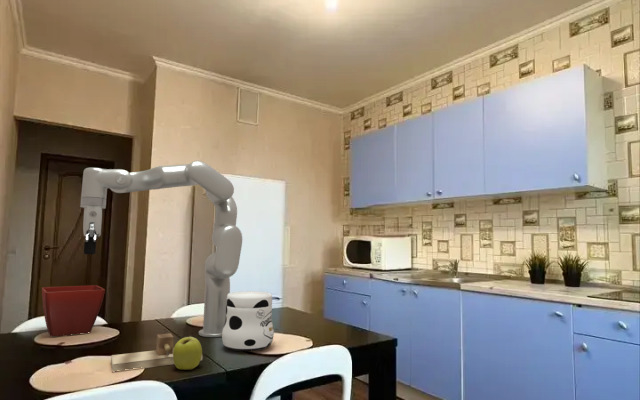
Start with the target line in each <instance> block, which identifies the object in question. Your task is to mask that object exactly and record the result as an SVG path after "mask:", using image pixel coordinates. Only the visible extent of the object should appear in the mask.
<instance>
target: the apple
mask: <svg viewBox="0 0 640 400" xmlns="http://www.w3.org/2000/svg"><path fill="white" fill-rule="evenodd" d="M192 335H193V333H192V332H191V334H190V335H189V336H185V337H183V338H180V339H179V340H178V341H177V342H176V343H175V344H174V345H173V348H174V349H173V360H174V364H173V365H175V367H176V368H177V369H178V370H180V371H181V370H185V371H186V370H193V369H195V368H197V367H198V366H199V364H200V362H201V361H200V359H201V356H202V357H203V354H202V353H203V349H202V348H203V347H202V345H201V342H200V340H198V338H196V337H193V336H192Z"/></svg>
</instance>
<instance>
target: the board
mask: <svg viewBox="0 0 640 400" xmlns="http://www.w3.org/2000/svg"><path fill="white" fill-rule="evenodd" d="M173 349H174V347H173ZM203 354H204V353H203V352H202V356H201V359H200V362H201V361H203ZM110 365H112V367H111V371H112V370H113V371H117V370H125V369H133V368H141V367H144V368H143V369H147V368H148V369H149V368H154V367H162V366H163V367H164V366H169V365H170V366H171V365H175V364H174V360H173V354H169V355H168V356H167V355H160V356H158V354H157V352H156V349H155V350H148V351H147V350H146V351H137V352H130V353H128V352H127V353H122V354H112V355H110Z"/></svg>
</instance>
